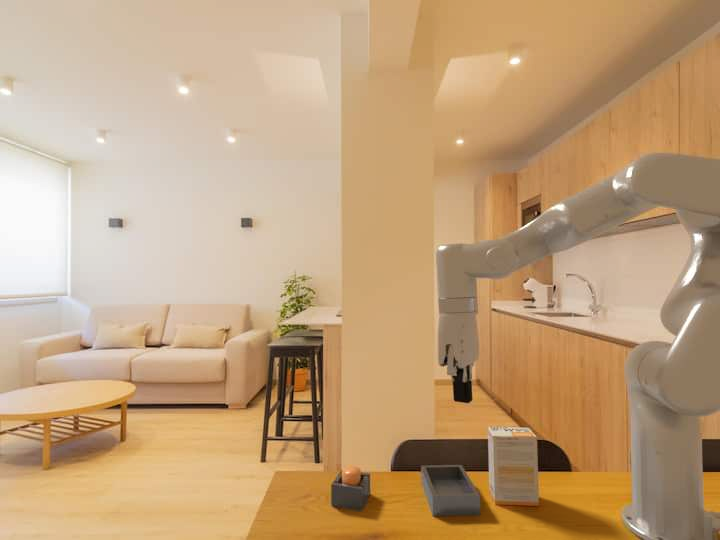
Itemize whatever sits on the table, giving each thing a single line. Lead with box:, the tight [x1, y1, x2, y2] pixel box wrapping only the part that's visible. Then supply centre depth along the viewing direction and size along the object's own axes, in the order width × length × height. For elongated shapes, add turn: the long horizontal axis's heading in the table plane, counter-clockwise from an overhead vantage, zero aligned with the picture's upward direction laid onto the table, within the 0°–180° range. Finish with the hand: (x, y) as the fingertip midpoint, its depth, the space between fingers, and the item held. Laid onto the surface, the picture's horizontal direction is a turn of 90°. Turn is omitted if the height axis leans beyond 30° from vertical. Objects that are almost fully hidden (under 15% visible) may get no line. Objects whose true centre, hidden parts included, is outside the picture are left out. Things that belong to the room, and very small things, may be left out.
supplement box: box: [487, 426, 540, 507], centre depth 75 cm, size 8×5×13 cm, turn 84°
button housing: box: [330, 469, 371, 512], centre depth 75 cm, size 6×6×4 cm
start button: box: [341, 465, 361, 486], centre depth 75 cm, size 4×4×4 cm
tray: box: [420, 464, 481, 517], centre depth 75 cm, size 9×12×4 cm
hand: (463, 401), depth 75 cm, fingers closed
